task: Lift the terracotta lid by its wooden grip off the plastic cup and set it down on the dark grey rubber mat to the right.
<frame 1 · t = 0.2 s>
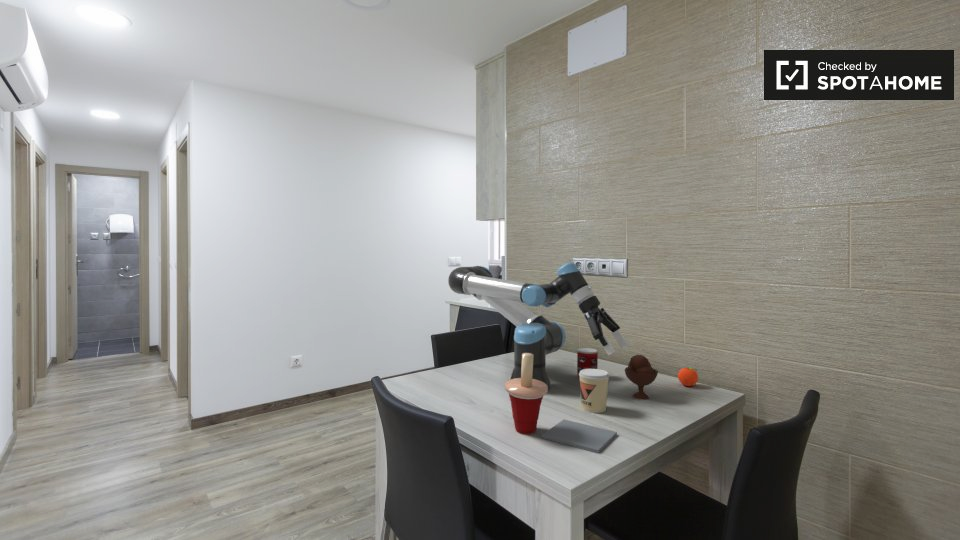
hand: (618, 350, 160), 15 cm above the table, tool tilted 35°, fingers open, 13 cm apart
canned food: (587, 377, 181), on the table
mat: (579, 436, 123), on the table
ice cream bowl: (640, 397, 156), on the table
lid: (526, 388, 126), point 12 cm above the table, touching plastic cup
clementine: (688, 386, 169), on the table
plastic cup: (526, 431, 127), on the table, touching lid
coffee cup: (593, 409, 144), on the table
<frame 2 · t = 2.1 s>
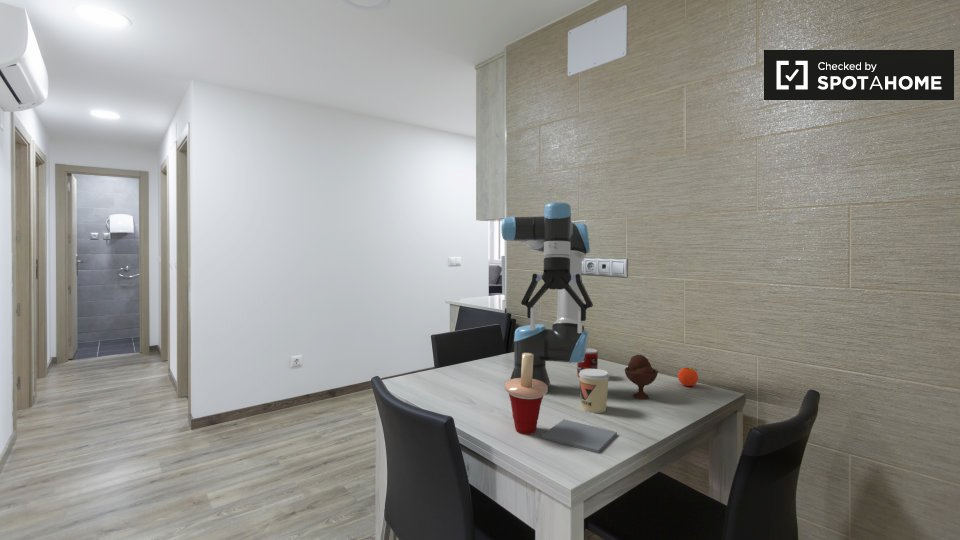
hand: (555, 331, 127), 28 cm above the table, tool pointing down, fingers open, 13 cm apart
nothing on the table moved.
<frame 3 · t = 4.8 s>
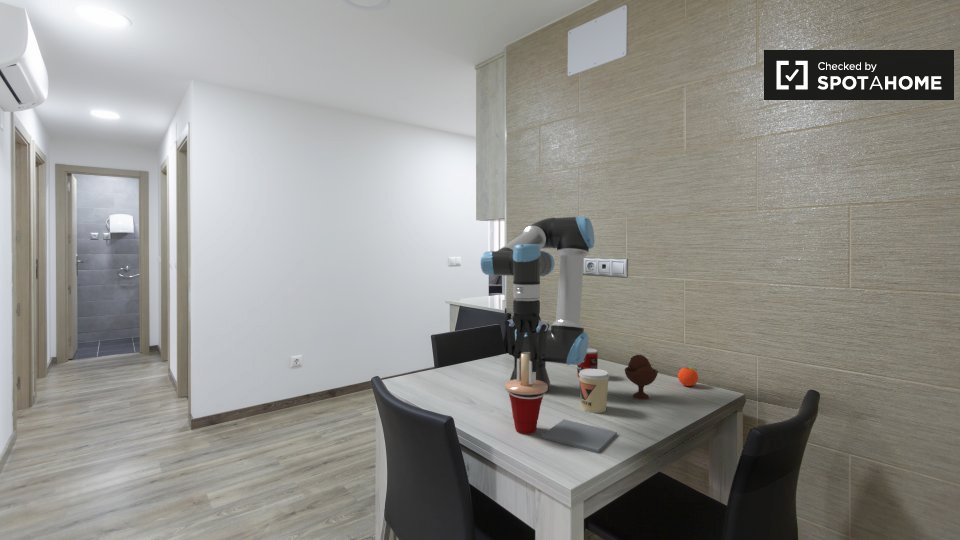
hand: (526, 381, 126), 14 cm above the table, tool pointing down, fingers closed on lid, 3 cm apart
lid: (526, 388, 126), point 12 cm above the table, touching gripper
plastic cup: (526, 431, 127), on the table
everything else where it was.
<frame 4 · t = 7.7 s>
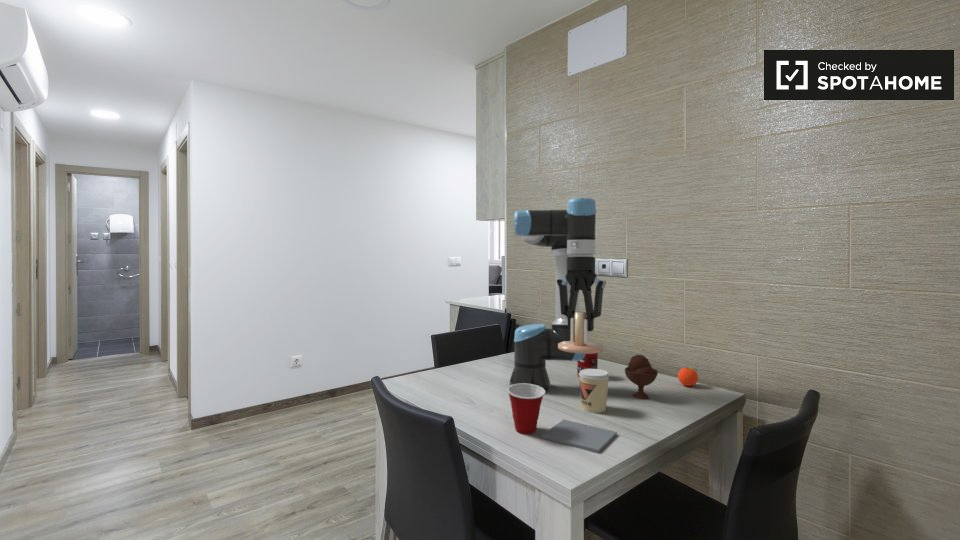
hand: (580, 341, 122), 26 cm above the table, tool pointing down, fingers closed on lid, 3 cm apart
lid: (580, 348, 122), point 24 cm above the table, touching gripper
everything else where it was.
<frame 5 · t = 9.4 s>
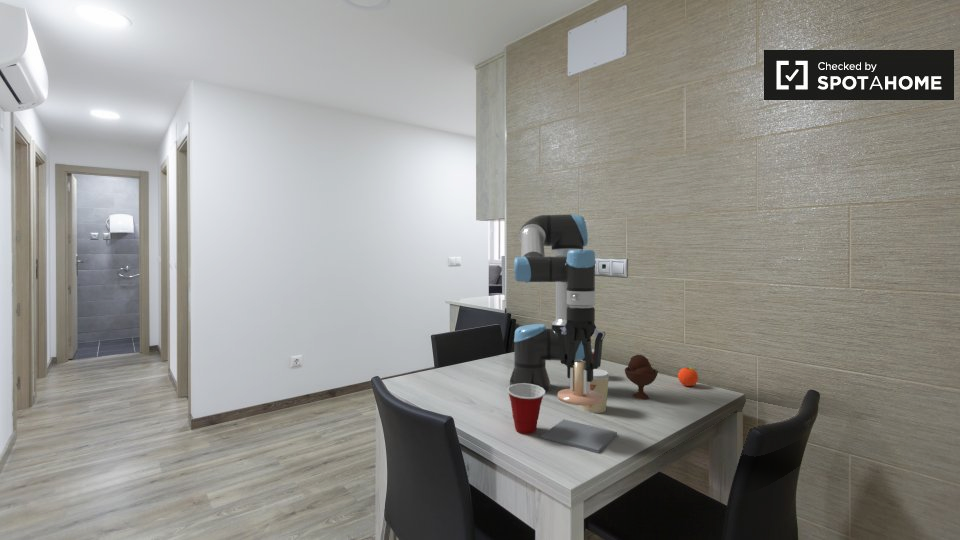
hand: (579, 391, 122), 13 cm above the table, tool pointing down, fingers closed on lid, 3 cm apart
lid: (579, 398, 122), point 11 cm above the table, touching gripper
everything else where it was.
when the fingers open (5 cm above the table, at t = 11.0 s): lid drops 2 cm, resting on mat.
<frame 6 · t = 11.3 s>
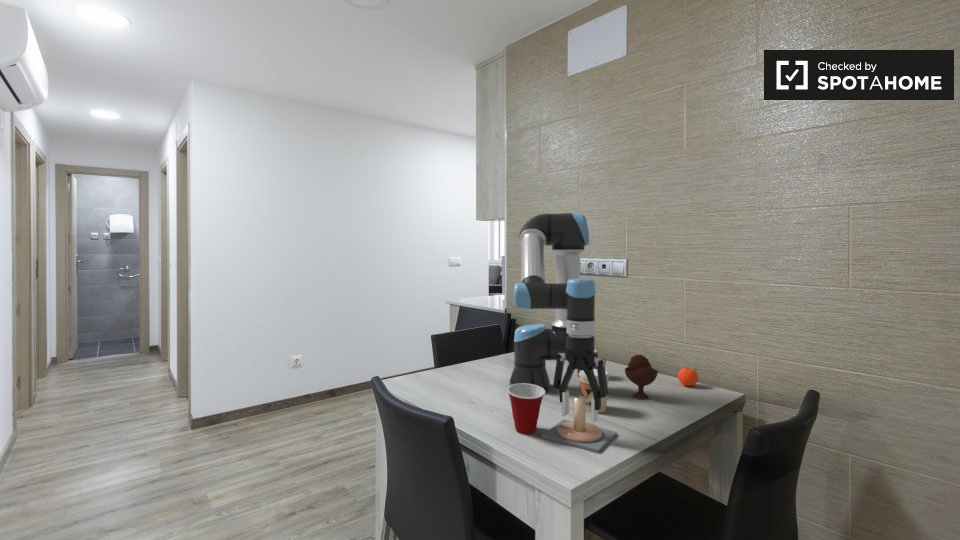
hand: (579, 417, 123), 5 cm above the table, tool pointing down, fingers open, 8 cm apart
lid: (579, 433, 123), point 1 cm above the table, touching mat
everything else where it was.
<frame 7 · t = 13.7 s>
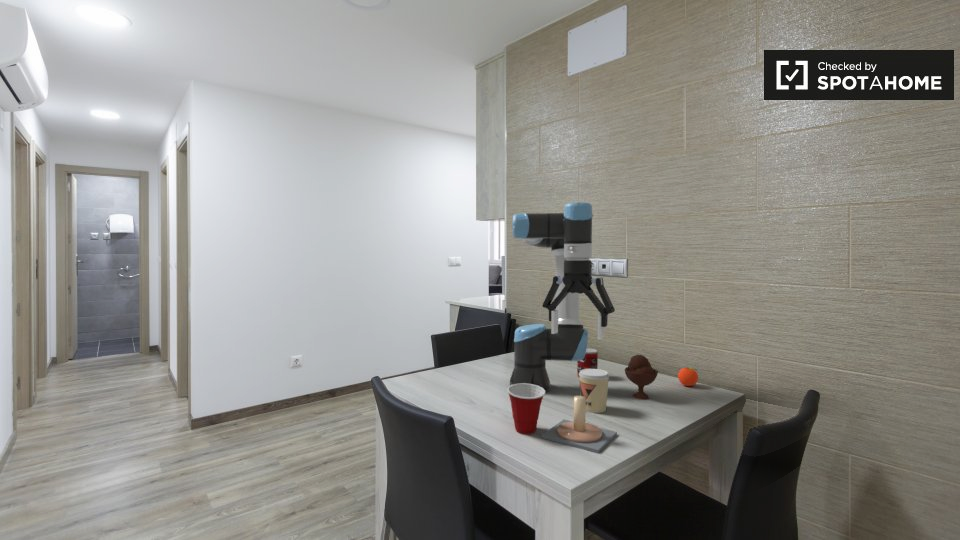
hand: (576, 335, 124), 27 cm above the table, tool pointing down, fingers open, 13 cm apart
nothing on the table moved.
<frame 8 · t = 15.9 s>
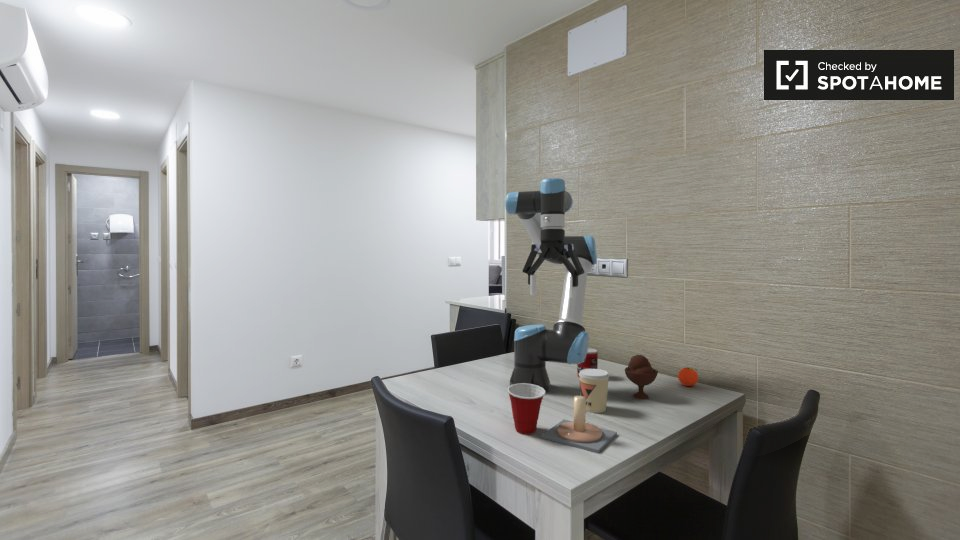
hand: (552, 296, 141), 37 cm above the table, tool pointing down, fingers open, 13 cm apart
nothing on the table moved.
at the end: lid inside the target area on the mat (0.0 cm from its centre), point 0.8 cm above the mat's base; lid tilted 0°; lid touching mat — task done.
